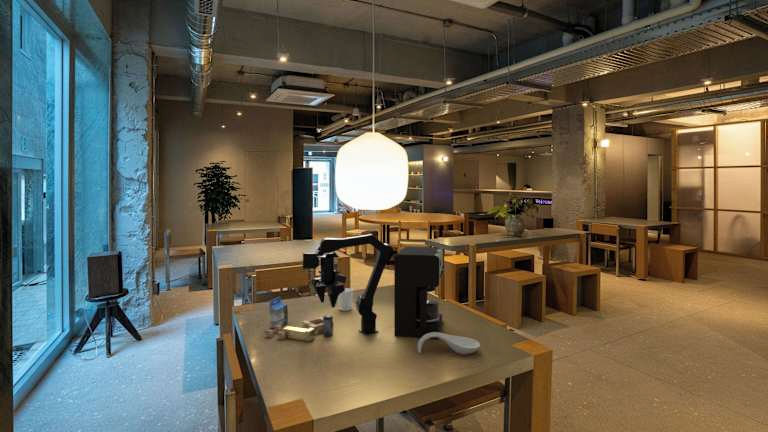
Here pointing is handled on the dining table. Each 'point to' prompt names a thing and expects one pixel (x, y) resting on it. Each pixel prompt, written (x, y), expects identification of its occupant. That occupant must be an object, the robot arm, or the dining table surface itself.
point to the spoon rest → (452, 342)
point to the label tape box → (278, 313)
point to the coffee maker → (417, 291)
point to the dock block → (314, 324)
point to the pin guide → (276, 329)
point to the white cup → (345, 299)
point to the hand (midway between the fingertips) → (327, 304)
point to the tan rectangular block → (299, 333)
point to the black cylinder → (327, 326)
